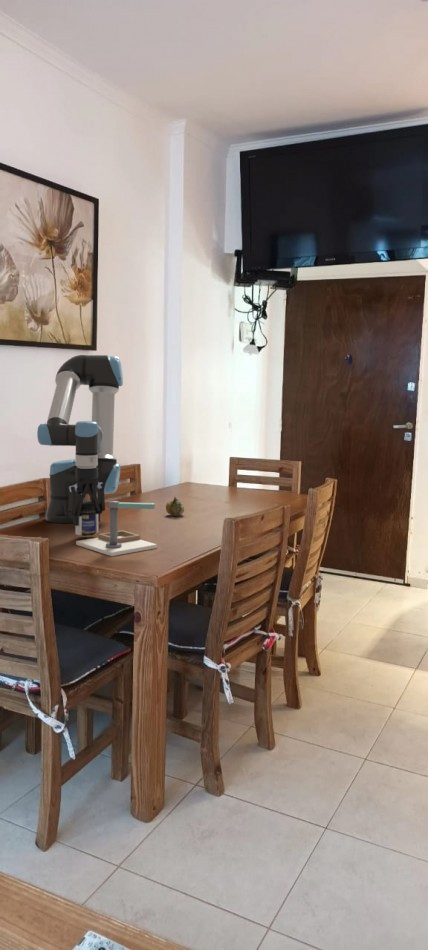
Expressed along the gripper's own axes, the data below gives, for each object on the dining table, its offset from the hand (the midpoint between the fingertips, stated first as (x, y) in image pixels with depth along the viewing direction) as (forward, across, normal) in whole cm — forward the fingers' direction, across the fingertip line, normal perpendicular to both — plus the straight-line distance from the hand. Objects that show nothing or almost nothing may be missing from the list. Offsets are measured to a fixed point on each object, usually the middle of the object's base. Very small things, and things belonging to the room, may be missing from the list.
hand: (87, 533), depth 243 cm
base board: (+1, +1, -16) cm, 17 cm away
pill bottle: (+1, 0, 0) cm, 1 cm away
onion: (+3, +52, +14) cm, 53 cm away
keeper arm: (-13, +1, -24) cm, 27 cm away
